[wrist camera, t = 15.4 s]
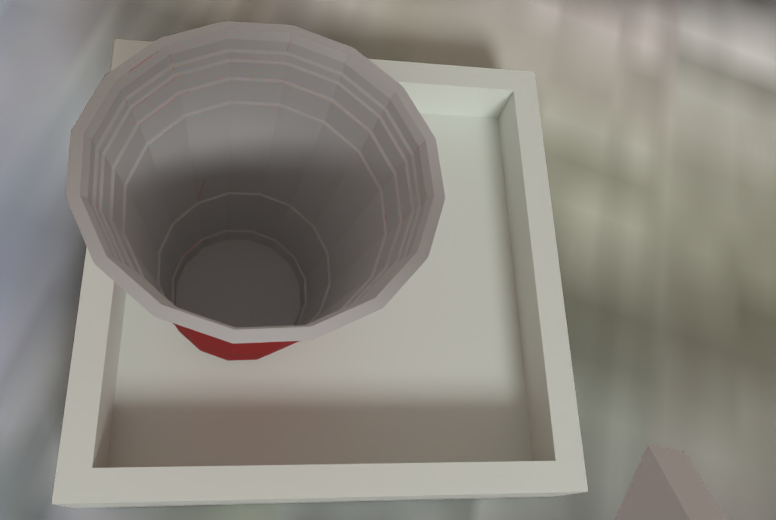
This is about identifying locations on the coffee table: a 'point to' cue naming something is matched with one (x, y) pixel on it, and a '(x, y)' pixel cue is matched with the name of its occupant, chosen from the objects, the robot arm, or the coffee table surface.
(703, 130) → the coffee table surface
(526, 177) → the tray
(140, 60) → the plastic cup
